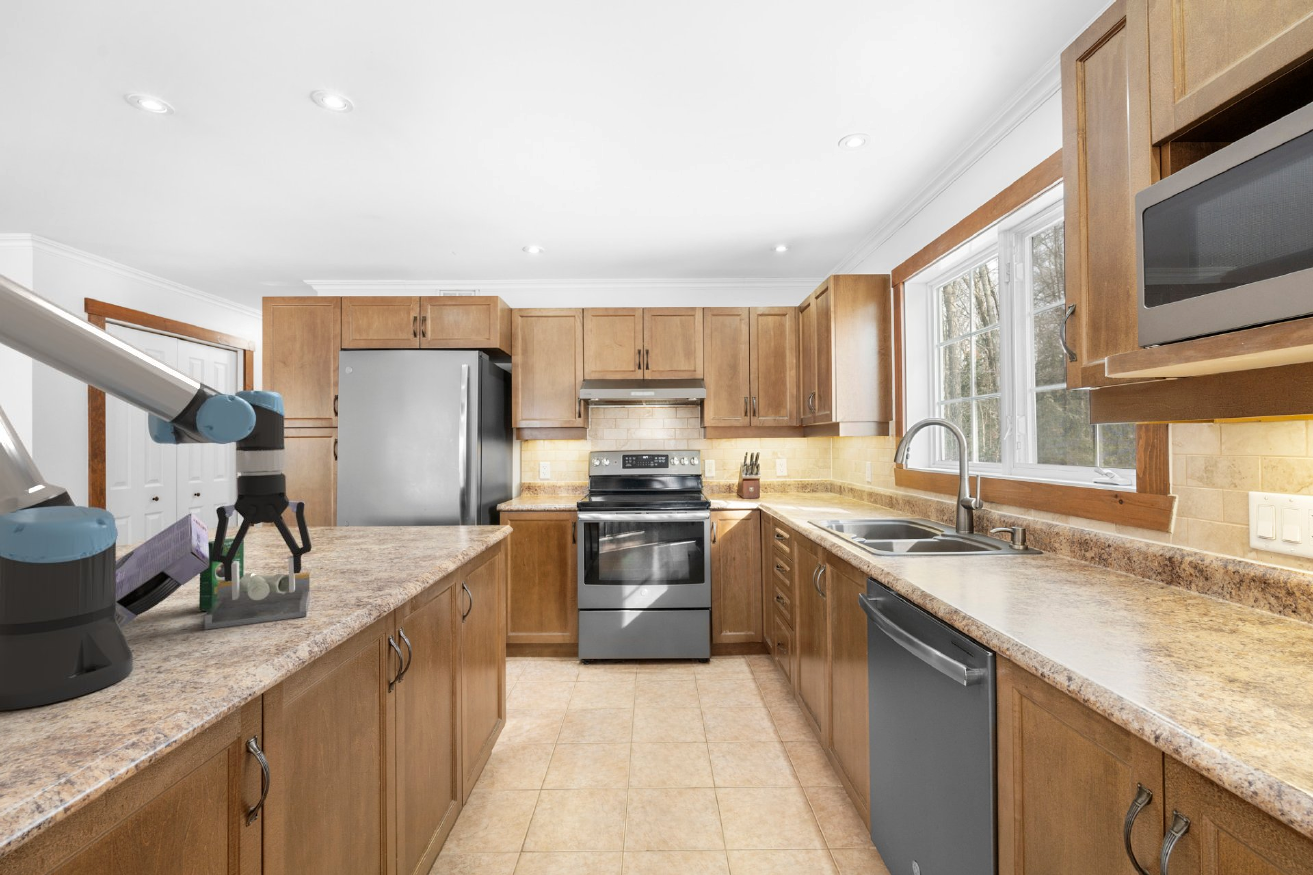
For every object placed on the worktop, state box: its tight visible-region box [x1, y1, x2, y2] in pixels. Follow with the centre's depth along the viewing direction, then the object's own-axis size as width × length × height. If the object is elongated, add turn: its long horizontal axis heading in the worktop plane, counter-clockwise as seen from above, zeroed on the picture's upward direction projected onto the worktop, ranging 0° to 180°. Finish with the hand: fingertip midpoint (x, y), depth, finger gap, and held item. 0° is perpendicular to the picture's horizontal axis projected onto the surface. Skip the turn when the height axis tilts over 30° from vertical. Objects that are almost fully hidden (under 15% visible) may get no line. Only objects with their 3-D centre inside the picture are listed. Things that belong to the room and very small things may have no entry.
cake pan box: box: [116, 512, 209, 629], centre depth 104 cm, size 19×5×18 cm
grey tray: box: [204, 571, 311, 631], centre depth 108 cm, size 13×15×6 cm
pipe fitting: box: [239, 572, 289, 600], centre depth 106 cm, size 8×4×7 cm
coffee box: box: [198, 537, 245, 612], centre depth 114 cm, size 8×3×13 cm, turn 175°
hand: (264, 594), depth 107 cm, fingers closed on pipe fitting, 8 cm apart
